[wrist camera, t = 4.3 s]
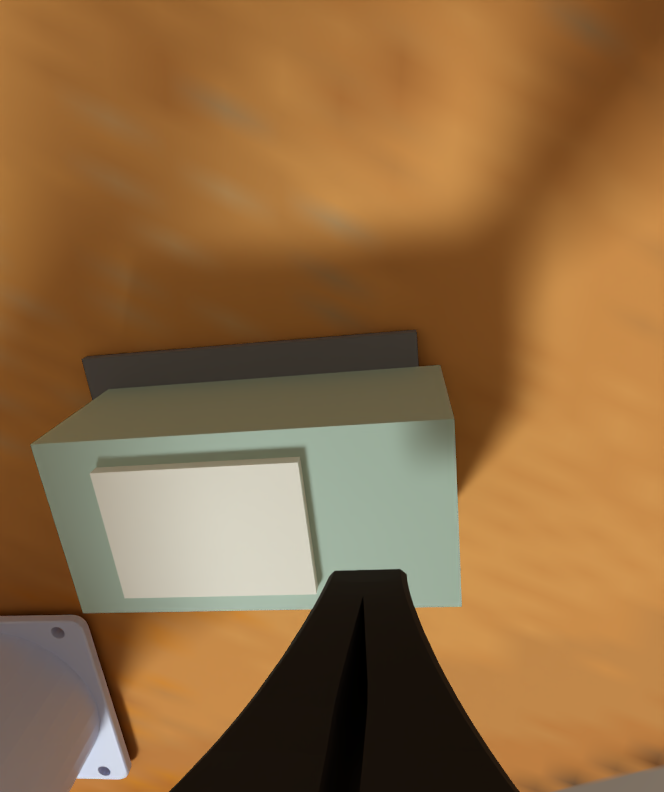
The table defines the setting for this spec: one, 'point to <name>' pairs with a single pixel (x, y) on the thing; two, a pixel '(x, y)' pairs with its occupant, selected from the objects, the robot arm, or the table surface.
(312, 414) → the sage block
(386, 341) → the mat
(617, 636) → the table surface
